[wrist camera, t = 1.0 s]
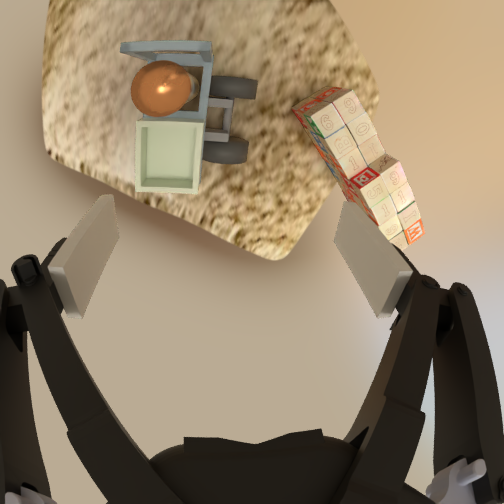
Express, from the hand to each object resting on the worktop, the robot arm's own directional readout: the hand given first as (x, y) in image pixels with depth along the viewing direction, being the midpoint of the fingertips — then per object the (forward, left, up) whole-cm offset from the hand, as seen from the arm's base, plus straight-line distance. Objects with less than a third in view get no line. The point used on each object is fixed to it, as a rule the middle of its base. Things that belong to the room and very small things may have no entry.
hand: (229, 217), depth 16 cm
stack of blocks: (0, +18, -25) cm, 31 cm away
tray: (+1, -6, -18) cm, 19 cm away
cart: (-3, -3, -25) cm, 25 cm away
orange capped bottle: (-7, -6, -25) cm, 26 cm away
